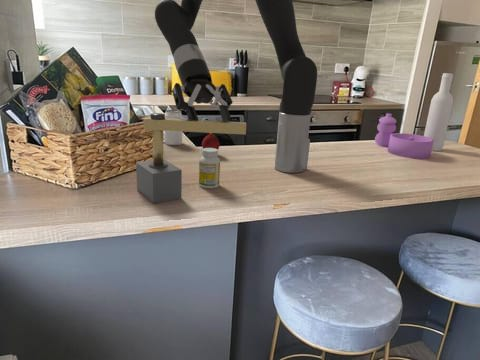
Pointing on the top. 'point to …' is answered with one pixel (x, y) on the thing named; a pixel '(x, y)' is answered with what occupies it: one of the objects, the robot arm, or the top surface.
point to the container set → (402, 140)
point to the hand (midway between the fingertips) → (211, 122)
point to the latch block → (159, 181)
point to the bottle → (440, 113)
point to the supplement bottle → (209, 168)
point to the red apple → (210, 142)
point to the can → (173, 136)
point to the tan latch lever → (161, 123)
